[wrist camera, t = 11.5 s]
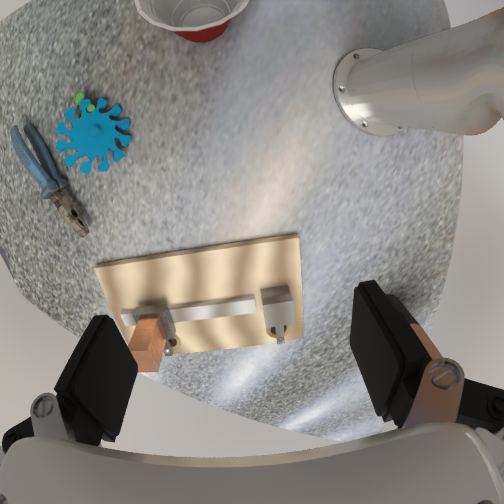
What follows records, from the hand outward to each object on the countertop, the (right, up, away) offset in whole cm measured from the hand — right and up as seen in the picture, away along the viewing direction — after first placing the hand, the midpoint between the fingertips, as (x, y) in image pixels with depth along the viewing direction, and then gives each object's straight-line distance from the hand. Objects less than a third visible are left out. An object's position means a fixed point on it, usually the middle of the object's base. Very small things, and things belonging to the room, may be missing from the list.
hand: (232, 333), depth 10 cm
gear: (-19, +19, +21) cm, 34 cm away
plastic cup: (-5, +31, +16) cm, 35 cm away
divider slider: (-13, -9, +31) cm, 35 cm away
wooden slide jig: (-7, -5, +32) cm, 33 cm away
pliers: (-27, +14, +22) cm, 38 cm away
